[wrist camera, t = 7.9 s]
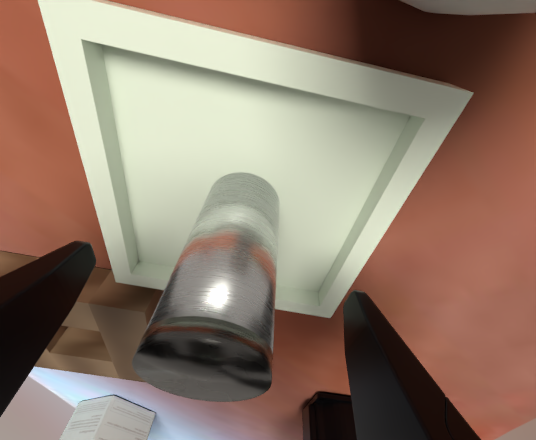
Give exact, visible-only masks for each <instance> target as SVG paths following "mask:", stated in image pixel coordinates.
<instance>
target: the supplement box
mask: <svg viewBox="0 0 536 440" xmlns="http://www.w3.org/2000/svg"><path fill="white" fill-rule="evenodd" d="M154 417H155V412H152V411H149V410H147V409H145V408H142V407H140V406H138V405H135V404H133V403H131V402H128V401H126V400H124V399H121V398H119V397H117V396H114V395H113V396H106V397H101V398H95V399H90V400H85V401H81V402H80V403H79V404H78V406H77V408H76V409H75V411H74V413H73V415H72V417H71V419H70V421H69V423H68V424H67V427H66V428H65V430H64V432H63V434H62V436H61V437H60V439H59V440H147V438H148V435H149V432H150V429H151V426H152V423H153V420H154Z"/></svg>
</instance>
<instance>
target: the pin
mask: <svg viewBox="0 0 536 440" xmlns="http://www.w3.org/2000/svg"><path fill="white" fill-rule="evenodd" d="M279 208H280V202H279V197H278V195H277V192H276V191H275V189H274V188H273V187H272V185H271V184H270V183H268V182H267V181H266V180H265V179H263V178H261V177H259V176H257V175H254V174H251V173H245V172H236V173H231V174H227V175H225V176H223V177H221V178H220V179H218V180H217V181H216V182H215V183H214V184H213V186H212V187H211V189H210V191H209V194H208V196H207V198H206V200H205V202H204V204H203V207H202V209H201V211H200V213H199V215H198V218H197V220H196V222H195V224H194V226H193V228H192V231H191V233H190V235H189V237H188V239H187V241H186V244H185V246H184V248H183V250H182V252H181V254H180V257H179V259H178V261H177V263H176V265H175V268H174V270H173V272H172V274H171V276H170V278H169V281H168V283H167V285H166V287H165V289H164V291H163V294H162V296H161V298H160V300H159V302H158V305H157V307H156V309H155V311H154V313H153V315H152V318H151V320H150V322H149V324H148V326H147V328H146V331H145V333H144V335H143V337H142V339H141V341H140V344H139V346H138V348H137V350H136V352H135V355H134V357H133V359H132V367H133V369H134V371H135V372H136V374H137V375H138V376H139V377H140V378H142V379H143V380H144V381H146V382H147V383H149V384H151V385H152V386H154V387H156V388H159V389H161V390H163V391H166V392H169V393H172V394H175V395H178V396H182V397H186V398H191V399H197V400H204V401H215V402H232V401H242V400H247V399H251V398H255V397H257V396H260V395H262V394H263V393H265V392H266V391H267V390H268V389H269V388H270V386H271V381H272V360H273V338H274V316H275V295H276V273H277V252H278V230H279Z"/></svg>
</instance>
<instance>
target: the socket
mask: <svg viewBox="0 0 536 440" xmlns="http://www.w3.org/2000/svg"><path fill="white" fill-rule="evenodd" d="M38 258H39V257H33V256H27V255H21V254H16V253H10V252H4V251H0V277H1V276H3V275H5V274H7V273H9V272H11V271H13V270H15V269H17V268H19V267H21V266H23V265H26V264H28V263H30V262H32V261H34V260H36V259H38ZM162 294H163V290H160V289H154V288H148V287H142V286H136V285H130V284H124V283H118V282H116V281H115V278H114V274H113V270H109V269H103V268H97V267H94V269H93V271H92V273H91V274H90V276H89V278H88V280H87V282H86V284H85V286H84V288H83V290H82V292H81V294H80V296H79V297H78V299H77V301H76V303H75V305H74V307H73V308H72V310H71V311H70V313H69V315H68V316H67V318H66V319H65V321H64V322H63V324H62V325H61V327H60V328H59V330H58V331H57V333H56V334H55V336H54V337H53V339H52V340H51V342H50V343H49V345H48V346H47V348H46V349H45V351H44V352H43V354H42V355H41V357H40V358H39V360H38V361H37V363H36V364H35V367H42V368H49V369H56V370H63V371H70V372H77V373H84V374H91V375H98V376H105V377H112V378H119V379H126V380H133V381H140V382H146V381H144V380H143V379H142V378H140V377H139V376H138V375H137V374H136V372H135V371H134V369H133V367H132V359H133V357H134V355H135V352H136V350H137V348H138V346H139V344H140V341H141V339H142V337H143V335H144V333H145V331H146V328H147V326H148V324H149V322H150V320H151V318H152V315H153V313H154V311H155V309H156V307H157V305H158V302H159V300H160V298H161V296H162Z"/></svg>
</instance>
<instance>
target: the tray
mask: <svg viewBox="0 0 536 440" xmlns="http://www.w3.org/2000/svg"><path fill="white" fill-rule="evenodd" d="M38 3H39V6H40V10H41V14H42V17H43V21H44V24H45V28H46V32H47V35H48V39H49V42H50V46H51V50H52V53H53V57H54V61H55V64H56V68H57V71H58V75H59V79H60V82H61V86H62V90H63V93H64V97H65V100H66V104H67V108H68V111H69V115H70V118H71V122H72V126H73V129H74V133H75V137H76V140H77V144H78V147H79V151H80V155H81V158H82V162H83V166H84V169H85V173H86V176H87V180H88V184H89V187H90V191H91V194H92V198H93V202H94V205H95V209H96V213H97V216H98V220H99V223H100V227H101V231H102V234H103V238H104V242H105V245H106V249H107V252H108V256H109V260H110V263H111V267H112V270H113V274H114V278H115V281H116V282H118V283H124V284H130V285H136V286H142V287H148V288H154V289H160V290H164V289H165V287H166V285H167V283H168V281H169V278H170V276H171V274H172V272H173V270H174V268H175V265H176V263H177V261H178V259H179V257H180V254H181V252H182V250H183V248H184V246H185V244H186V241H187V239H188V237H189V235H190V233H191V231H192V228H193V226H194V224H195V222H196V220H197V218H198V215H199V213H200V211H201V209H202V207H203V204H204V202H205V200H206V198H207V196H208V194H209V191H210V189H211V187H212V186H213V184H214V183H215V182H216V181H217V180H218V179H220V178H221V177H223V176H225V175H227V174H231V173H236V172H245V173H251V174H254V175H257V176H259V177H261V178H263V179H265V180H266V181H267V182H268V183H270V184H271V185H272V187H273V188H274V189H275V191H276V192H277V195H278V197H279V202H280V208H279V230H278V252H277V273H276V295H275V309H278V310H284V311H290V312H296V313H302V314H308V315H314V316H320V317H326V318H331V317H332V315H333V313H334V312H335V310H336V309H337V307H338V306H339V304H340V302H341V301H342V299H343V298H344V296H345V295H346V293H347V291H348V290H349V288H350V287H351V285H352V284H353V282H354V280H355V279H356V277H357V276H358V274H359V273H360V271H361V269H362V268H363V266H364V265H365V263H366V262H367V260H368V258H369V257H370V255H371V254H372V252H373V251H374V249H375V247H376V246H377V244H378V243H379V241H380V240H381V238H382V236H383V235H384V233H385V232H386V230H387V229H388V227H389V225H390V224H391V222H392V221H393V219H394V218H395V216H396V214H397V213H398V211H399V210H400V208H401V207H402V205H403V203H404V202H405V200H406V199H407V197H408V196H409V194H410V192H411V191H412V189H413V188H414V186H415V185H416V183H417V181H418V180H419V178H420V177H421V175H422V174H423V172H424V170H425V169H426V167H427V166H428V164H429V163H430V161H431V159H432V158H433V156H434V155H435V153H436V152H437V150H438V148H439V147H440V145H441V144H442V142H443V141H444V139H445V137H446V136H447V134H448V133H449V131H450V130H451V128H452V126H453V125H454V123H455V122H456V120H457V119H458V117H459V115H460V114H461V112H462V111H463V109H464V108H465V106H466V104H467V103H468V101H469V100H470V98H471V97H472V95H473V92H470V91H468V90H465V89H463V88H460V87H457V86H455V85H452V84H449V83H445V82H441V81H437V80H433V79H429V78H425V77H421V76H416V75H412V74H408V73H404V72H400V71H396V70H392V69H388V68H383V67H379V66H375V65H371V64H367V63H363V62H359V61H355V60H351V59H346V58H342V57H338V56H334V55H330V54H326V53H322V52H318V51H313V50H309V49H305V48H301V47H297V46H293V45H289V44H285V43H280V42H276V41H272V40H268V39H264V38H260V37H256V36H252V35H247V34H243V33H239V32H235V31H231V30H227V29H223V28H219V27H215V26H210V25H206V24H202V23H198V22H194V21H190V20H186V19H182V18H177V17H173V16H169V15H165V14H161V13H157V12H153V11H149V10H144V9H140V8H136V7H132V6H128V5H124V4H120V3H116V2H112V1H107V0H38Z"/></svg>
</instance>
